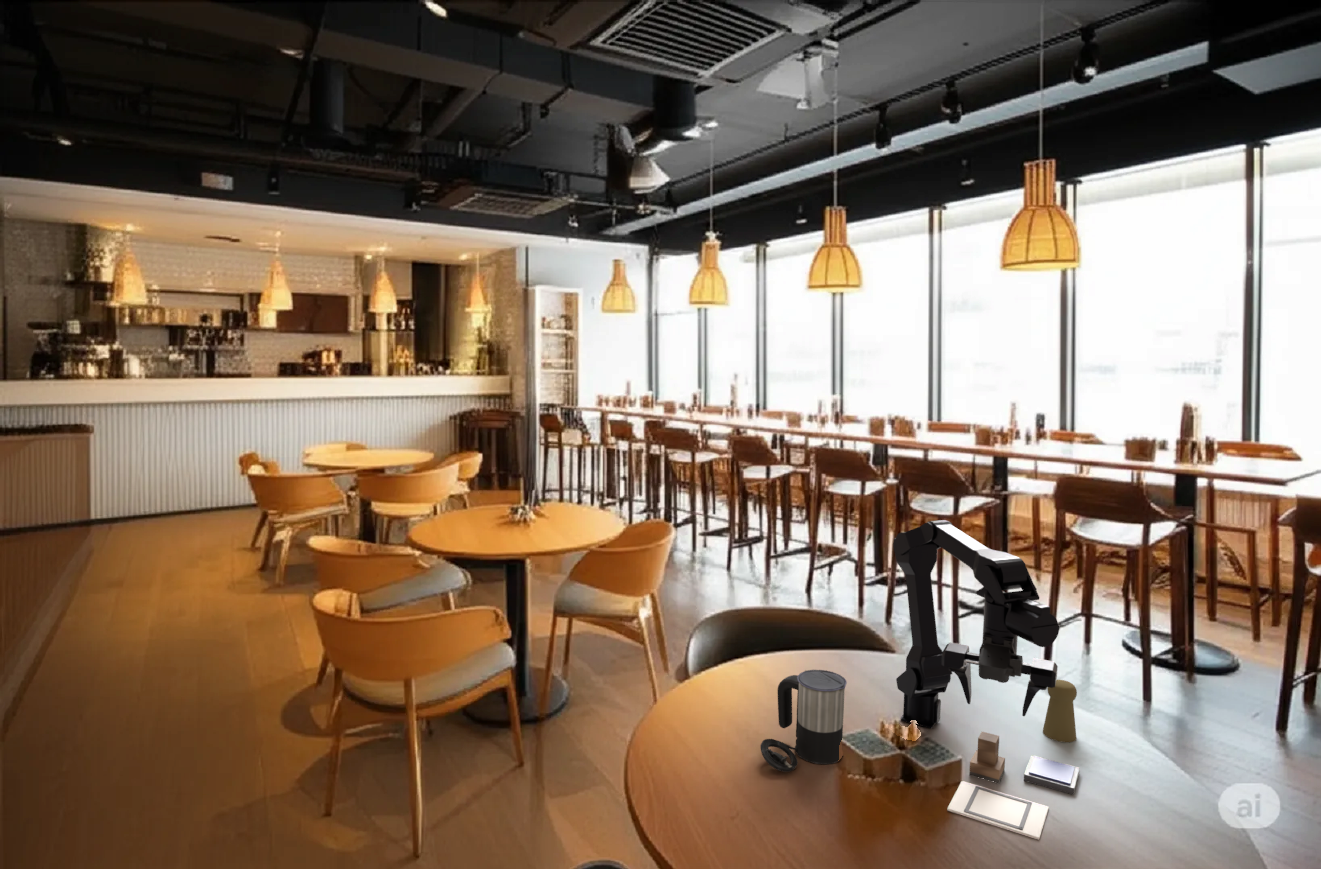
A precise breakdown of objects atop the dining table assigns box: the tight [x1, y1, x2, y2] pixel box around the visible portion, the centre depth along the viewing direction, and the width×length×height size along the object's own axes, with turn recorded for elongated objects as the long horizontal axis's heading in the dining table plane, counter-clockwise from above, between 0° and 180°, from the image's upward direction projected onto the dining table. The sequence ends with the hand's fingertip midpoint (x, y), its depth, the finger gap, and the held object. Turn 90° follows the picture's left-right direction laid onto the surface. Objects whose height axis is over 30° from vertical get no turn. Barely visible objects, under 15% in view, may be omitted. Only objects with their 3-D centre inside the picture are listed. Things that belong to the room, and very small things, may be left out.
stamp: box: [969, 731, 1006, 784], centre depth 142 cm, size 5×5×7 cm
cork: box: [1042, 679, 1078, 743], centre depth 155 cm, size 6×6×11 cm
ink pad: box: [1023, 754, 1080, 796], centre depth 140 cm, size 8×8×2 cm
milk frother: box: [759, 669, 848, 773], centre depth 146 cm, size 14×16×15 cm
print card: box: [947, 780, 1050, 841], centre depth 131 cm, size 14×10×1 cm
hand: (996, 708), depth 141 cm, fingers open, 9 cm apart
